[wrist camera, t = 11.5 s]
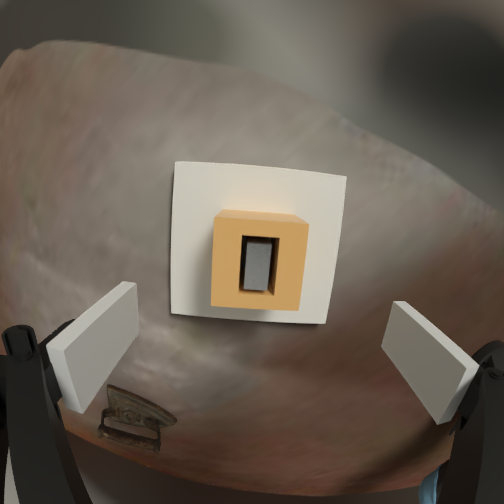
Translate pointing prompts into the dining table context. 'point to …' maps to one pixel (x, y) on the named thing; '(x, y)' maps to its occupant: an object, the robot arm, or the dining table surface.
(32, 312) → the dining table surface
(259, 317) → the base plate
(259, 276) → the steel shaft
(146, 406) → the clothes iron
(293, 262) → the hollow tan cube
